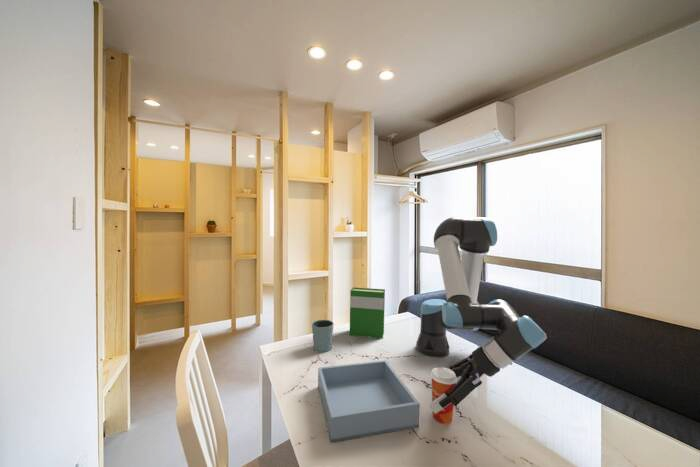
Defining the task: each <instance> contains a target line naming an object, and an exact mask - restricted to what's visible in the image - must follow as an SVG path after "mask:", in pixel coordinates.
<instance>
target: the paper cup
mask: <svg viewBox="0 0 700 467" xmlns="http://www.w3.org/2000/svg"><path fill="white" fill-rule="evenodd" d="M430 377H431V402H433V401H434V400H435V399H437V398H438V397H440V396H441V395H443V394H444V393H445V392H447V393H448V392H449V391H450V390H451V389H452V388H453V387H454V385H455V384H456V383H457V382H458V377H456V375H455V373H454V372H453V371H452V370H450V369H449V367H439V366H438V367H434V368H432V371H431V372H430ZM454 407H455V406H454V405H453V403H451V404H449V405H448V406H446V407H445V408H443V409H442V410H440V411H439V412H437V413H436V414H435V413H434V412H433V411H432V418H433V419H434V421H436V422H438V423H439V424H443V425H449V424H451V423H452V421H453V414H454Z"/></svg>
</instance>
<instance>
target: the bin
mask: <svg viewBox="0 0 700 467" xmlns="http://www.w3.org/2000/svg"><path fill="white" fill-rule="evenodd" d="M317 373H318V374H317V388H318V392H319V396H320V401H321V405H322V410H323V414H324V417H325V423H326V427H327V432H328V437H329V441H330V444H334V443H335V444H336V443H341V442H345V441H350V440H356V439H357V440H358V439H363V438H367V437H373V436H378V435H384V434H389V433H395V432H401V431H406V430H412V429H417V428H420V412H421V411H420V410H421V407H420V406H421V404H420V402H419V401H418V399H417V398H416V397H415V396H414V395H413V393H412V392H411V391H410V389H409V388H408V387H407V385H406V384H405V382H403V380H402V378H401V377H400V376H399V375H398V373H397V372H396V371H395V369H393V367H392V366H391V365H390V363H389V362H388V360H387V359H384V360H377V361H366V362H365V361H364V362H359V363H358V362H357V363H350V364H349V363H348V364H339V365H331V366H329V365H328V366H321V367H320V366H319V367H318V369H317Z"/></svg>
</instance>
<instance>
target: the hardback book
mask: <svg viewBox="0 0 700 467" xmlns="http://www.w3.org/2000/svg"><path fill="white" fill-rule="evenodd" d="M385 292H386V289H384V288H370V287H368V288H366V287H352V288H351V289H350V298H349V299H350V300H349V303H350V304H349V336H354V337H363V338H372V339H373V338H374V339H375V338H376V339H384V333H385V305H386V304H385V300H386V299H385V298H386V297H385V296H386V295H385Z"/></svg>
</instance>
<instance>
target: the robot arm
mask: <svg viewBox="0 0 700 467" xmlns="http://www.w3.org/2000/svg"><path fill="white" fill-rule="evenodd" d="M497 242H498V229H497V226H496V223H495V222H494V221H493V219H492V218H490V217H482V216H481V217H480V216H478V217H477V216H475V217H474V216H473V217H472V216H471V217H470V216H469V217H467V216H466V217H463V216H462V217H461V216H460V217H459V216H453V217H448V218H447V219H444V220H443V221H442V222H441V223H440V224H439V225H438V226H437V228H436V229H435V232H434V235H433V244H434V248H435V250H436V251H437V253H438V258H439V263H440V264H439V265H440V268H441V275H442V280H443V285H444V290H445V296H446V300H445V299H440V298H431V299H426V300H424V301H423V302H422V303H421V306H420V332H419V334H418V337H417V340H416V345H415V346H416V350H417V351H418V352H420V353H421V354H423V355H426V356H429V357H435V358H442V357H446V356H448V355H449V354H450V344H449V342H448V337H447V330H456V331H466V332H471V331H478V330H479V329H480V330H494V331H495V330H497V331H498V333H497V334H496V335H494V336H492V337H491V338H490V339H488V340H487V341H485V342H483V344H482V346H479V347H477V348H475V349H474V350H473V351H472V352H471V354H469V355H468V356H467V357H465V358H463V359H461V360H459V361H457V362H455V363H454V364H451V365H449V366H448V369H450V370H452V371H453V372H454V373H455V375H456V377H457V378H459V377H460V378H459V380H457V382H456V384H455V385H454V387H453V388H452V389H451V390H450V391H449V392H448V393H447V392H445V393H444V394H443V395H441V396H440V397H438V398H437V399H435V400H434V401H433V402H432V401H431V402H429V404H428V407H429V408H430V409H431V410H432V413H433V412H434V413H435V414H436V413H437V412H439V411H440V410H442V409H443V408H445V407H446V406H448V405H449V404H451V403H453V405H454V407H456V406H458V405H459V404H460V403H461V402H462V401H464V399H465V398H466V397H467V396H469V395H470V394H471V393H472V392H473V391H474V390H475V389H476V388H478V387H479V386H481V385H482V384H483V381H482V380H481V379H480V378H481V377H482V376H483V375H486V376H488V377H490V378H491V377H493V376H495V375H496V374H497V373H499V372H500V371H501V369H505V368H506V367H508V366H509V365H510V366H511V365H512V366H513V363H514V362H515V361H517V360H518V359H520V358H522V357H523V356H524V355H526V354H528V353H529V352H531V351H532V350H534V349H537V348H538V347H539V346H540V345H541V344H543V342H544V341H546V340H547V333H545V331H543V329H542V328H541V327H540V326H539V324H537V323H536V322H535V321H534V320H533V319H532V318H531V317H530V316H529V315H526V314H525V315H522V316H519V314H518V313H517V311H516V310H515V308H514V307H513V306H511V305H510V304H509V303H508V302H507V301H506V300H503V299H500V298H499V299H494V300H491V301H489V302H488V303H486V304H485V303H483V304H482V303H479V301H478V294H479V288H480V283H481V279H482V278H481V277H482V272H483V265H484V264H483V263H484V258H485V255H486V254H487V253H489V252H490V249H491V248H490V247H494V246H495V245H496V244H497ZM459 249H460V250H461V251H462V252H461V253H462V254H460V250H459Z"/></svg>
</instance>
